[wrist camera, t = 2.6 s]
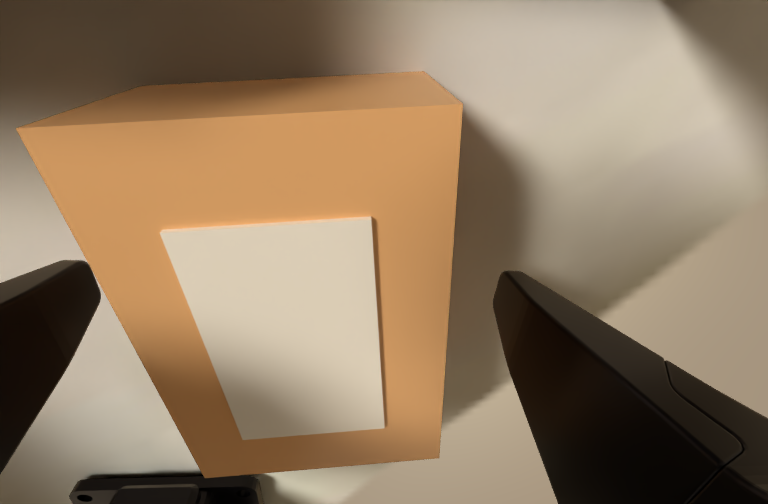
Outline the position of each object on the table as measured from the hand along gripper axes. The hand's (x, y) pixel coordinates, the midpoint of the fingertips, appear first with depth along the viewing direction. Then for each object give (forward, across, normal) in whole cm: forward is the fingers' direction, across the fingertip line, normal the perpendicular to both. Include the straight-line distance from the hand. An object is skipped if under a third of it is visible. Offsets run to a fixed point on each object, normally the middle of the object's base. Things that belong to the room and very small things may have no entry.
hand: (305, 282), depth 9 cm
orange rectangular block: (+2, 0, 0) cm, 2 cm away
